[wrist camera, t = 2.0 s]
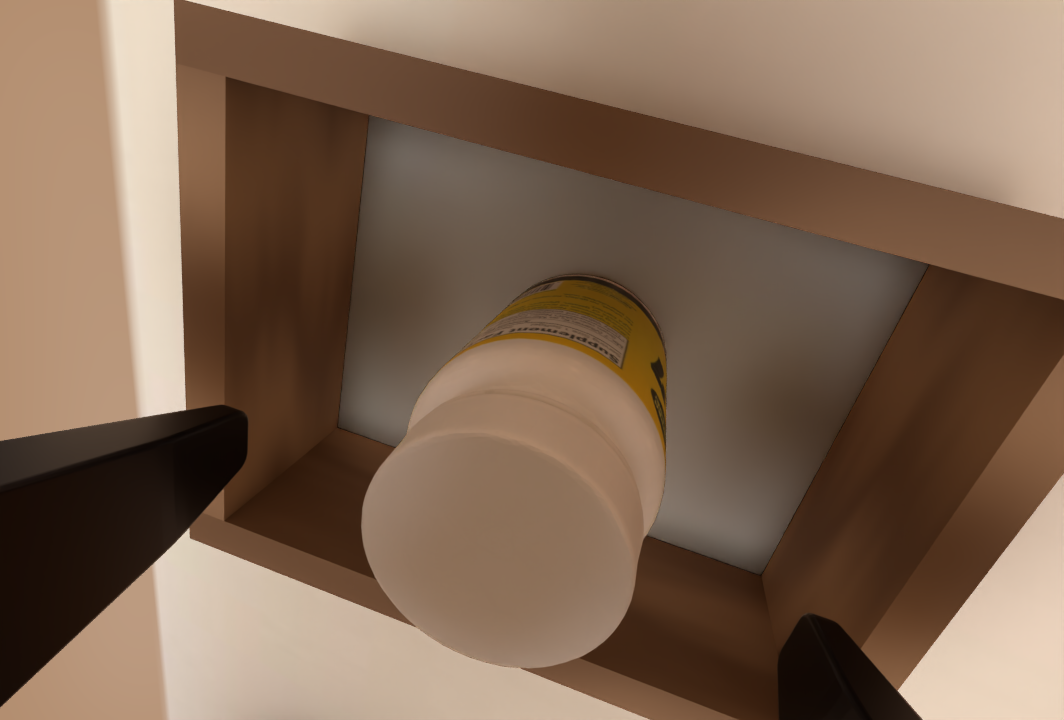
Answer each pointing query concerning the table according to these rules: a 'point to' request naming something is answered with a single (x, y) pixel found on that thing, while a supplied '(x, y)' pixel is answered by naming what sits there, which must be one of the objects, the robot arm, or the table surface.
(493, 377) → the supplement bottle
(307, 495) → the walnut box
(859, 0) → the table surface
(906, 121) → the table surface
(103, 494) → the robot arm
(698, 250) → the table surface
